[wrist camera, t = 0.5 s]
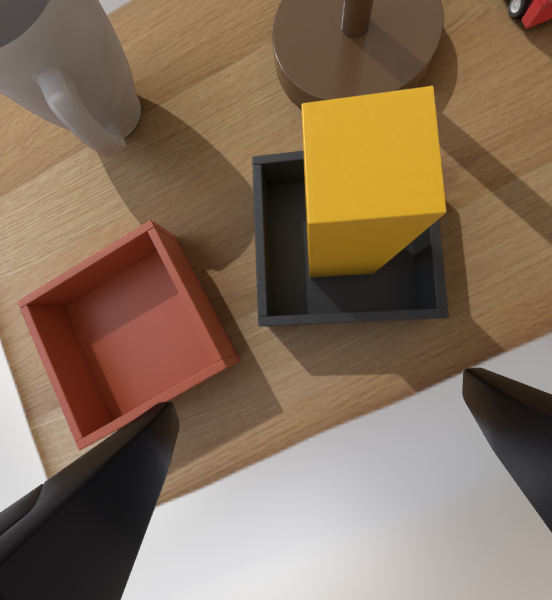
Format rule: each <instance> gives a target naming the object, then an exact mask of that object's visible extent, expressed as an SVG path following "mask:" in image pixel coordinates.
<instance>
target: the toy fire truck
mask: <svg viewBox="0 0 552 600" xmlns="http://www.w3.org/2000/svg"><path fill="white" fill-rule="evenodd" d="M525 12H526V13H525ZM523 13H525V15H524V16H523V18H522V22H523V25H524V27H525V28H526V29H528V28H531V27H533V26H536V25H538V24H541V23H543V22H545V21H548V20H550V19H552V0H511V1H510V4H509V14H510V16H511V17H518V16H520V15H522V14H523Z"/></svg>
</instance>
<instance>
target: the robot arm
mask: <svg viewBox="0 0 552 600" xmlns="http://www.w3.org/2000/svg"><path fill="white" fill-rule="evenodd" d="M462 393H463V398H464V400H465V403H466V404H467V406H468V408H469V409H470V411H471V413H472V415H473V416H474V418H475V419H476V422H477V423H478V425H479V427H480V429H481V430H482V432H483V434H484V436H485V437H486V439H487V441H488V442H489V444H490V446H491V447H492V449H493V451H494V452H495V454H496V455H497V457H498V458H499V459H500V461H501V462H502V464H503V465H504V466H505V468H506V469H507V471H508V472H509V473H510V475H511V476H512V478H513V479H514V481H515V482H516V483H517V485H518V486H519V487H520V489H521V490H522V492H523V493H524V495H525V496H526V497H527V499H528V500H529V501H530V503H531V504H532V506H533V507H534V509H535V510H536V511H537V512H538V514H539V516H540V517H541V518H542V520H543V521H544V522H545V524H546V525H547V527H548V528H549V530H550V531H551V532H552V394H549V393H546V392H543V391H541V390H538V389H536V388H533V387H531V386H528V385H525V384H523V383H520V382H517V381H515V380H512V379H509V378H507V377H504V376H502V375H499V374H496V373H494V372H491V371H488V370H486V369H483V368H470V369H466V370H465V371H464V373H463V391H462ZM178 431H179V419H178V416H177V414H176V411H175V408H174V405H173V403H172V402H170V401H166V402H159V403H157V404H155V405H154V406H153V407H151V408H150V409H148V410H147V411H145V412H144V413H143V414H141V415H140V416H138V417H137V418H135V419H134V420H133V421H131V422H130V423H128V424H127V425H125V426H124V427H123V428H121V429H120V430H118V431H117V432H115V433H114V434H113V435H111V436H110V437H108V438H107V439H105V440H104V441H103V442H101V443H100V444H98V445H97V446H95V447H94V448H93V449H91V450H90V451H88V452H87V453H85V454H84V455H83V456H81V457H80V458H78V459H77V460H75V461H74V462H73V463H71V464H70V465H68V466H67V467H65V468H64V469H63V470H61V471H60V472H58V473H57V474H55V475H54V476H53V477H51V478H50V479H48V480H47V481H45V483H44V484H41V485H40V486H39V487H37V488H35V489H34V490H32V491H31V492H30V493H28V494H27V495H25V496H24V497H22V498H21V499H19V500H18V501H17V502H15V503H14V504H12V505H11V506H9V507H8V508H6V509H5V510H3V511H2V512H0V600H121V597H122V595H123V592H124V589H125V587H126V584H127V581H128V579H129V576H130V573H131V570H132V568H133V565H134V562H135V559H136V557H137V554H138V552H139V549H140V546H141V543H142V541H143V538H144V535H145V533H146V530H147V527H148V525H149V522H150V519H151V517H152V514H153V511H154V509H155V506H156V503H157V501H158V498H159V495H160V492H161V490H162V487H163V484H164V481H165V479H166V476H167V472H168V469H169V465H170V461H171V458H172V454H173V450H174V446H175V443H176V439H177V435H178Z"/></svg>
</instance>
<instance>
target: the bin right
mask: <svg viewBox="0 0 552 600" xmlns="http://www.w3.org/2000/svg"><path fill="white" fill-rule="evenodd" d="M252 164H253V192H254V219H255V246H256V273H257V300H258V316H259V317H258V325H259V326H287V325H309V324H332V323H355V322H377V321H400V320H423V319H440V318H449V314H448V308H447V307H448V304H447V294H446V284H445V275H444V265H443V255H442V245H441V235H440V225H439V219H438V220H437V221H436V222H434V223H433V224H432V225H431V226H430V227H428V228H427V229H426V230H425V231H424V232H423V233H421V234H420V235H419V236H418V237H417V238H415V239H414V240H413V241H412V242H411V243H409V244H408V245H407V246H406V247H405V248H404V249H402V250H401V251H400V252H399V253H398V254H396V255H395V256H394V257H393V258H392V259H390V260H389V261H388V262H387V263H386V264H384V265H383V266H382V267H381V268H380V269H379V270H377V271H376V272H375V273H374V274H362V275H346V276H330V277H314V278H310V274H309V256H308V238H307V220H306V198H305V175H304V152H303V151H297V152H289V153H280V154H271V155H263V156H254V157H252Z"/></svg>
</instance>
